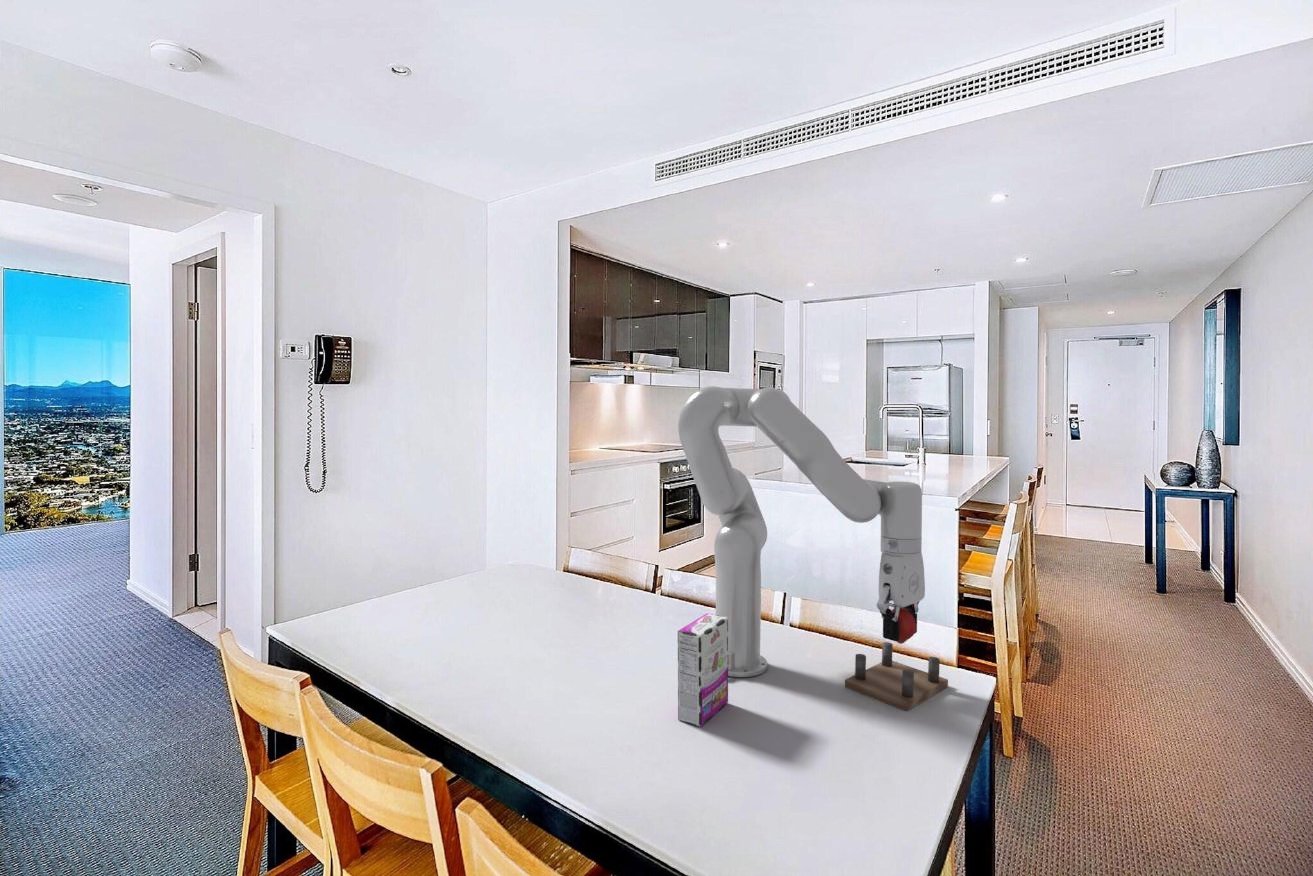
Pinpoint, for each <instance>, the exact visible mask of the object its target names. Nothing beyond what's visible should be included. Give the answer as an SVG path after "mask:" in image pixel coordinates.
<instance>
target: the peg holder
mask: <svg viewBox="0 0 1313 876" xmlns="http://www.w3.org/2000/svg"><path fill="white" fill-rule="evenodd" d="M881 649H882V652H881V662H879V663H877V664H875V665H873V666H871V667H869V668H867V656H866V655H865V654H863V653H856V654H855V661H854V662H855V663H854V675H851V676H850V677H848V678H845V679H844V687H845V688H847V689H849V688H850V689H849V690H851V689H852V690H851V691H854V692H857V693H859V694H862V695H865V696H867V695H868V696H867V697H869V696H870V698H872V697H873V698H872V699H874V698H875V699H874V700H877V699H878V701H879V702H882V701H883V702H882V703H885V704H888V705H890V706H892V707H896V708H898V709H901V710H902V711H905V712H908V711H909V710H911V709H913V708H914V706H915V707H916V706H918V705H919V704H921V703H923V702H924V701H926V700H928V699H930V698H931V696H932V697H933V696H934V695H936V694H938V693H940V692H942V691H943V690H945V689H948V687H949V679H948V678H944V677H941V676H940V666H941V665H940V660H941V659H940V658H939V657H936V656H929V657H928V667H927V668H928V671H924V670H921V669H918V668H915V667H912V666H909V665H906V664H903V663H899V662H897V661H894V660H893V643H891V642H889V641H888V642H887V641H884V642H882V647H881ZM866 668H867V669H866ZM929 697H930V698H929ZM917 704H918V705H917Z"/></svg>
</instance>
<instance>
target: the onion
mask: <svg viewBox="0 0 1313 876" xmlns="http://www.w3.org/2000/svg"><path fill="white" fill-rule="evenodd" d="M893 610H894V608H892V609H891V611H892V612H893ZM897 621H900V634H899V641H897V642H896V643H897V644H900V645H901V644H905V642H907V641H909V640H910V639H911V638H912V637H913V636H914V635H916V633H915V632H916V622H915V619H914V617H913V615H912V614H911V613H910V612H909V611H908V610H906V609H905V608H904V607H903V608H900V609H899V614H898V619H897Z"/></svg>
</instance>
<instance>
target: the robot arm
mask: <svg viewBox="0 0 1313 876" xmlns="http://www.w3.org/2000/svg"><path fill="white" fill-rule="evenodd" d="M722 426H723V427H725V426H729V427H731V426H733V427H735V426H736V427H753V428H754V427H757V428H758V429H759V430H760V431H761V432H762V433H763V434H764V435H765V436H766V437H767V438H768V439H769V440H770V441H771V442H772V443H773V444H774V445H775V446H777V448H779V450H781V452H782V453H783V454H784V455H785V456H786V457H787V458H788V459H789V460H790V461H791V462H792V463H793V464H794V465H795V466H796V468H797V469H798V470H799V471H800V472H801V473H802V474H803V475H804V476H805V477H806V478H807V479H808V480H809V482H810V483H811V484H813V486H814V487H815V488H816V489H817V490H818V491H819V492H820V493H821V495H822V496H823V497H825V499H827V500H828V502H830V504H832V505H833V506H834V508H835V509H836V510H838V511H839V512H840V513H841V514H842V515H843V516H844V517H845V518H847V519H848V520H850V521H852V522H854V523H860V524H862V523H863V524H864V523H868V522H870V521H872V520H874V519H875V518H876V517H877V516H880V553H881V555H880V562H879V571H878V572H879V573H878V587H877V589H878V600H877V603H876V607H877V609H878V610H879V612H880V614H881V619H882V638H884V639H886V640H889V641H893V642H896V643H897V641H899V634H900V621H897V619H898V614H899V609H900V608H903V607H904V608H905V609H906V610H908V611H909V612H910V613H911V614H912V615H913V617H914V619H915V622H916V632H915V634H917V632H918V613H919V604H920V601H922V600H924V598H925V597H926V595H925V594H926V593H925V592H926V585H925V581H926V578H925V566H924V558H923V552H922V551H923V550H922V548H923V547H922V545H923V544H922V542H923V541H922V535H923V533H922V532H923V531H922V530H923V526H922V525H923V490H922V487H921V485H919V484H918V483H915V482H910V481H888V482H886V481H885V482H884V481H877V480H871V479H864V478H863V477H862V476H860V475H859V474H858V473H857V472H856V471H855V469H853V468H852V467H851V466H850V465H849V464H848V463H847V462H846V460H845V459H843V457H842V456H841V455H840V454H839V452H838V451H837V450H836V449H835V447H834V446H833V443H832V442H831V441H830V439H829V437H828V436H827V435H826V434H825V433H824V432H823V430H821V429H820V428H819V427H818V426H817V425H816V424H815V423H814V422H812V421H811V419H810V418H809V417H807V416H806V415H805V414H804V413H803V412H802V410H800V409H799V408H798V407H797V405H796V404H794V403H793V402H792V400H791V399H790V396H788V394H787V393H786V392H785V391H783V390H781V389H779V388H775V387H764V388H735V387H734V388H732V387H720V386H714V385H712V386H711V385H710V386H706V387H702V388H700V389H699V390H696V391H695V392H694V393H693V394H692V395H691V396H690V397H689V398H688V399H687V400H686V402H685V403H684V405H683V407H682V409H681V410H680V413H679V418H678V424H677V428H678V430H677V431H678V438H679V440H680V444H681V447H682V450H683V452H684V455H685V458H686V460H687V463H688V466H689V469H690V472H691V476H692V477H693V481H694V483H695V486H696V489H697V492H698V494H699V497H700V500H701V502H702V505H703V506H704V508H705V509H706V510H707V511H708V512H709V513H711V514H713V515H716V516H718V519H719V521H720V523H721V526H720V528H719V529H718V531H717V533H716V536H715V539H714V544H713V546H714V547H713V550H714V552H713V554H714V565H715V615H719V616H723V617H728V677H733V678H749V677H755V676H760V675H762V674H763V673H764V672H766V671H767V669H768V661H767V659H766V658H765V656H763V655H761V615H762V570H761V569H762V567H761V566H762V564H761V554H762V550H763V549H764V546H765V545H766V542H767V539H768V527H767V524H766V521H765V519H764V515H763V514H762V510H761V509H760V506H759V503H758V501H757V497H756V495H755V493H754V492H755V491H754V490H753V488H752V486H751V484H750V481H749V479H748V478H747V476H746V475H745V474H744V473H743V472H742V471H741V470H739V469H737V468H734V467H733V465H732V463H731V461H730V458H729V456H728V452H727V449H726V447H725V445H724V443H723V441H722V439H721V437H720V434H719V428H720V427H722ZM891 602H893V603H891ZM889 607H891V608H893V609H894V610H893V612H892V611H891V610H892V609H891V608H889Z"/></svg>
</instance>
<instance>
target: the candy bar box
mask: <svg viewBox="0 0 1313 876" xmlns="http://www.w3.org/2000/svg"><path fill="white" fill-rule="evenodd" d="M728 703H729V676H728V617H723V616H719V615H716V614H713V613H705V614H703V615H701V616H700V617H699V618H697V619H695V620H693V621H692V622H690V623H689V624H687V625H685V626H683V627H681V628H680V629H679V630H677V709H678V710H677V714H678V716H677V717H678V719H677V720H678V721H680V722H682V723H685V724H688V725H693V726H695V727H696V726H697V727H699V728H701V727H703V726H704V725H705V724H706V723H707V722H708V721H709V720H710V719H712V718H713V716H715V715H716V714H717V713H718V712H719V711H720V710H721V709H722V708H723V707H725V706H726V704H728Z"/></svg>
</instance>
